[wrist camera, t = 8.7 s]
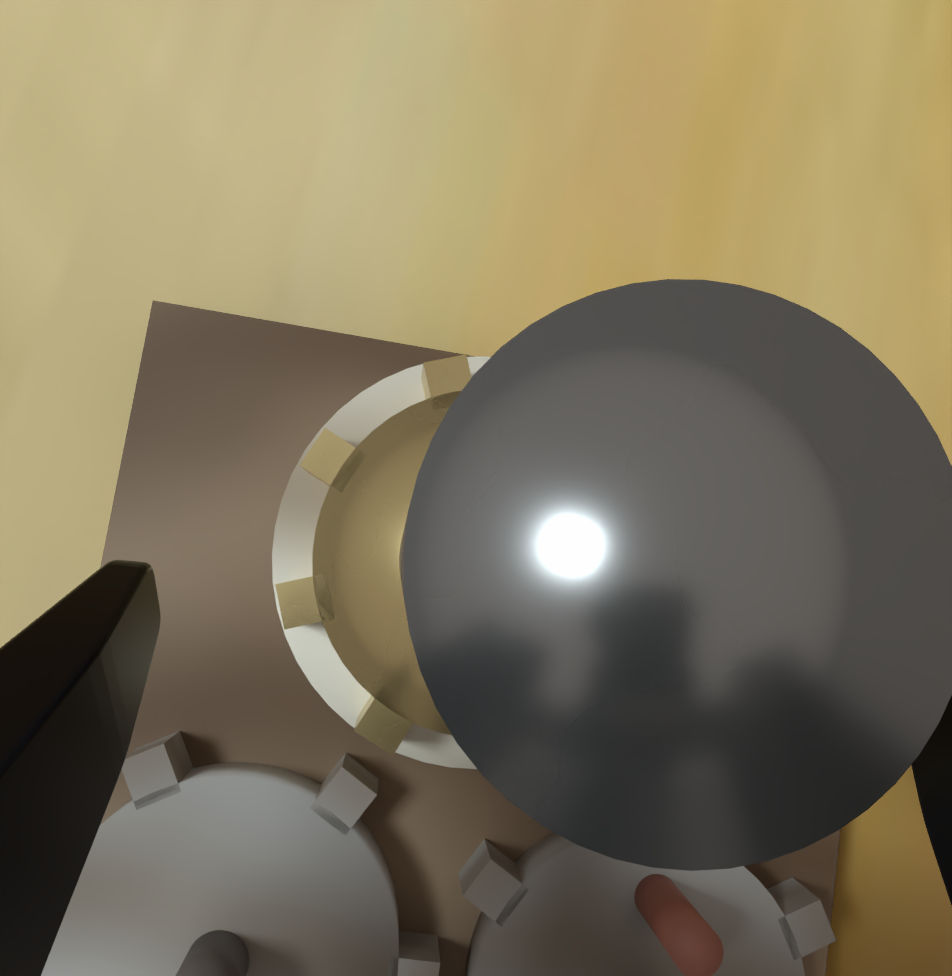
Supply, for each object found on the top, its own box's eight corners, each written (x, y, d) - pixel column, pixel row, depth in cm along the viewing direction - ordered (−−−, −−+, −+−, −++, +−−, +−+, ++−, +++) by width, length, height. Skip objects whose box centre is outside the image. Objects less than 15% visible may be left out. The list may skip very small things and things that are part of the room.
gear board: (766, 1190, 19) (899, 1418, 14) (2, 1119, 18) (-157, 1345, 13) (847, 436, 21) (991, 397, 16) (158, 318, 19) (74, 233, 14)
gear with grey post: (540, 831, 18) (938, 1595, 5) (207, 621, 17) (-357, 806, 4) (736, 503, 19) (1505, 381, 6) (424, 299, 18) (489, -321, 5)
